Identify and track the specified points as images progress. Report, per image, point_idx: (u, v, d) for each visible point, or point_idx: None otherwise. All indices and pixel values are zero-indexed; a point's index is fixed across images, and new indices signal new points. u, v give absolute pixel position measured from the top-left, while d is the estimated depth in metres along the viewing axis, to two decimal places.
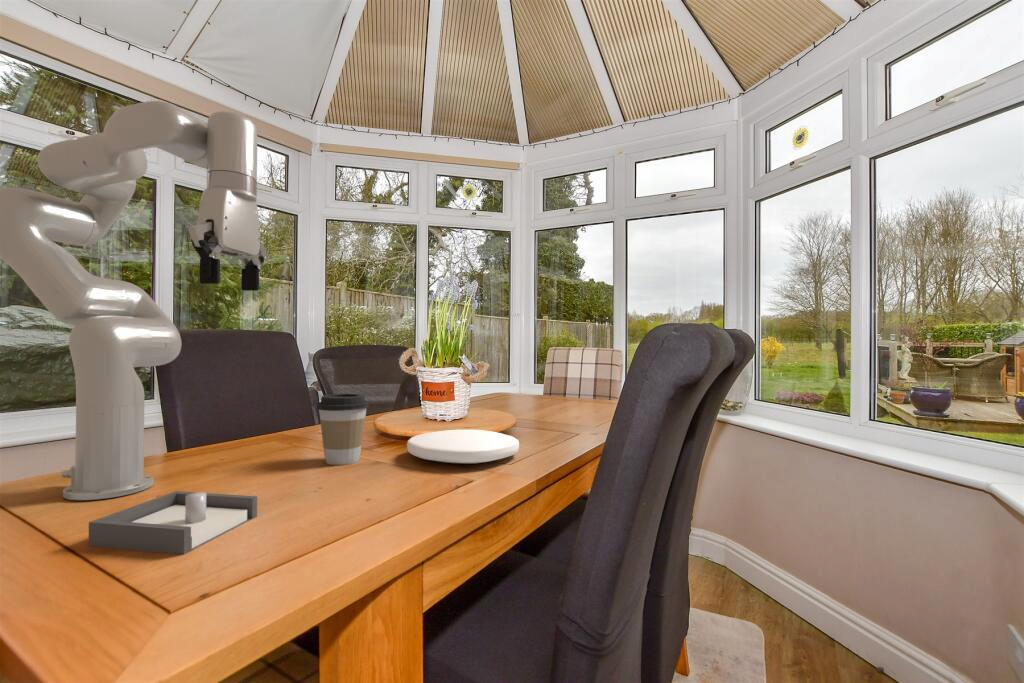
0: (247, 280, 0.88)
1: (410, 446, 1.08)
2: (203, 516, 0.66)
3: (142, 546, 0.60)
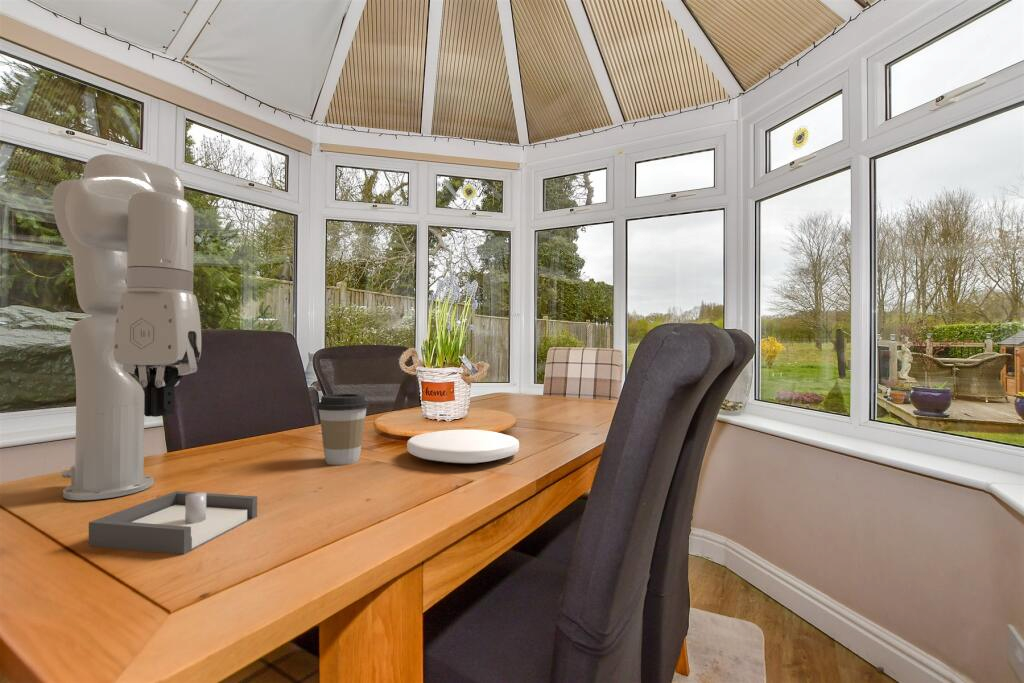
0: None
1: (410, 446, 1.08)
2: (203, 516, 0.66)
3: (142, 546, 0.60)
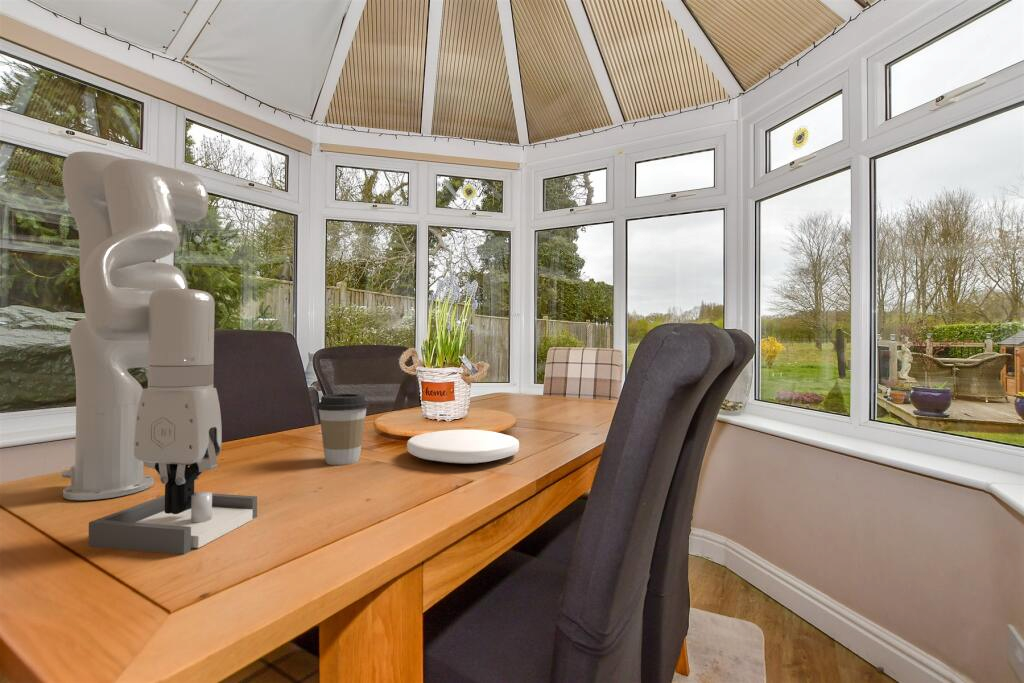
0: None
1: (410, 446, 1.08)
2: (209, 516, 0.66)
3: (142, 546, 0.60)
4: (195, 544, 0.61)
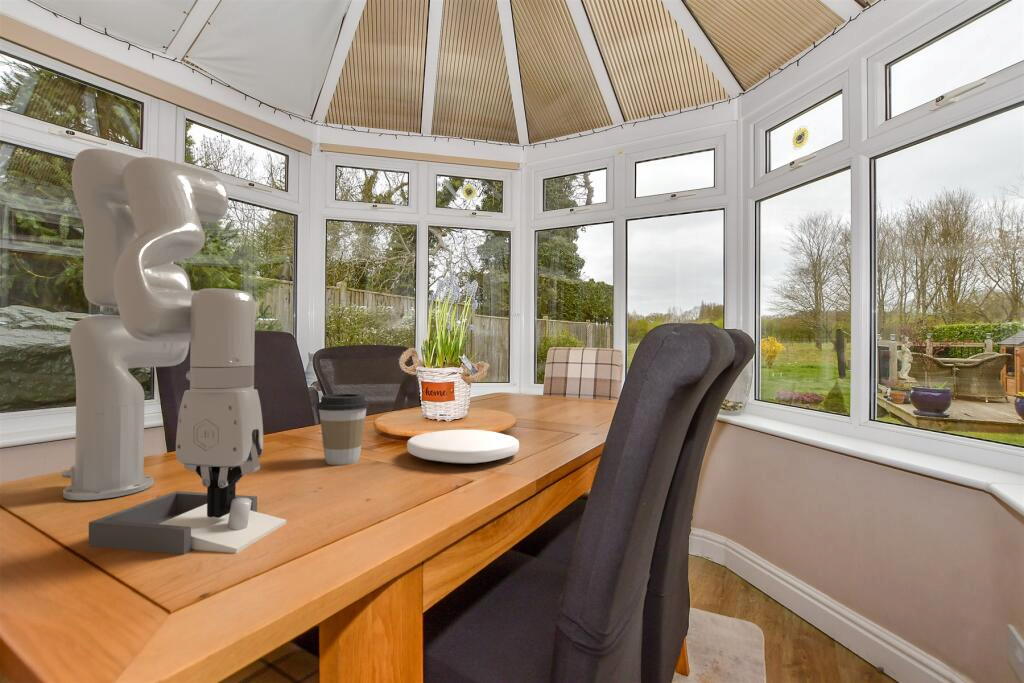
0: None
1: (410, 446, 1.08)
2: (245, 523, 0.65)
3: (142, 546, 0.60)
4: None
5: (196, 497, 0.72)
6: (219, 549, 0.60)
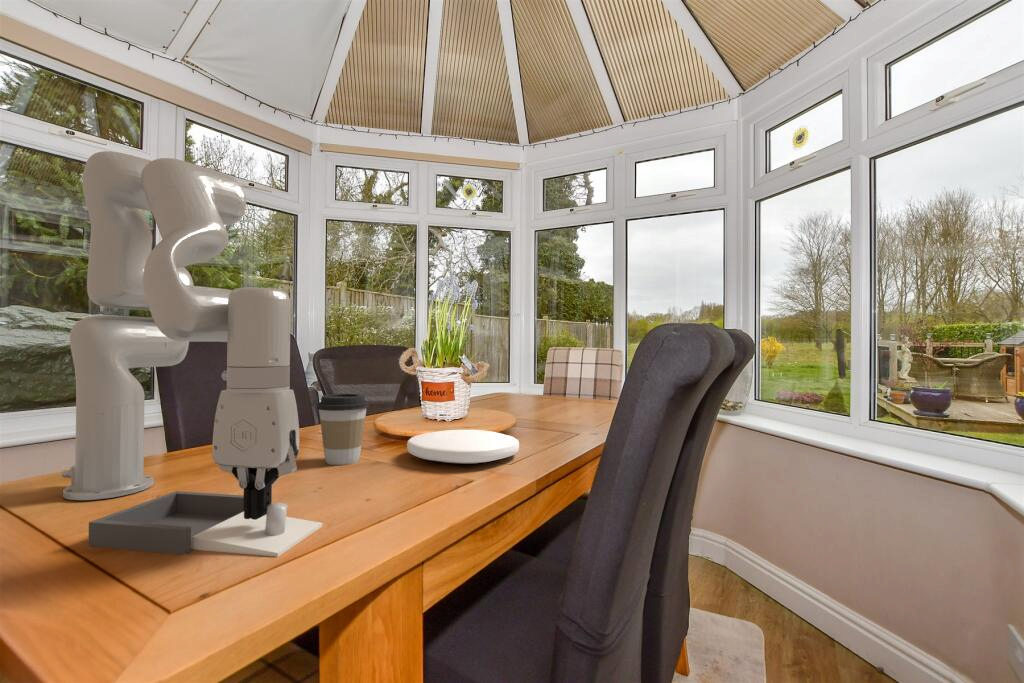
0: None
1: (410, 446, 1.08)
2: (283, 528, 0.64)
3: (142, 546, 0.60)
4: None
5: (196, 497, 0.72)
6: None
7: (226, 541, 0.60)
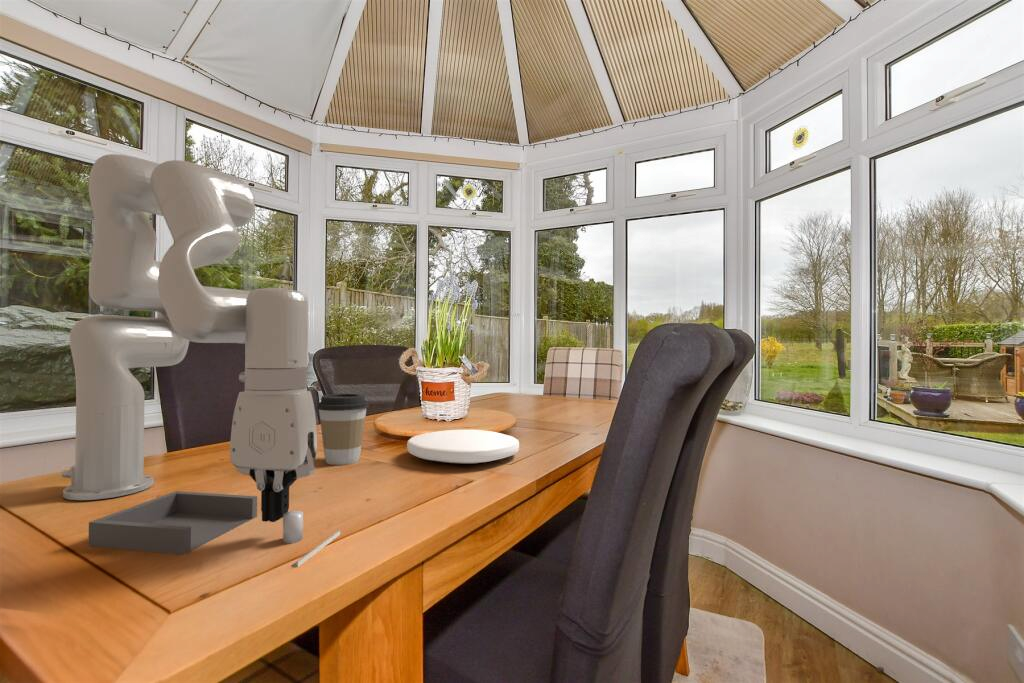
0: None
1: (410, 446, 1.08)
2: (301, 536, 0.64)
3: (142, 546, 0.60)
4: None
5: (196, 497, 0.72)
6: None
7: None
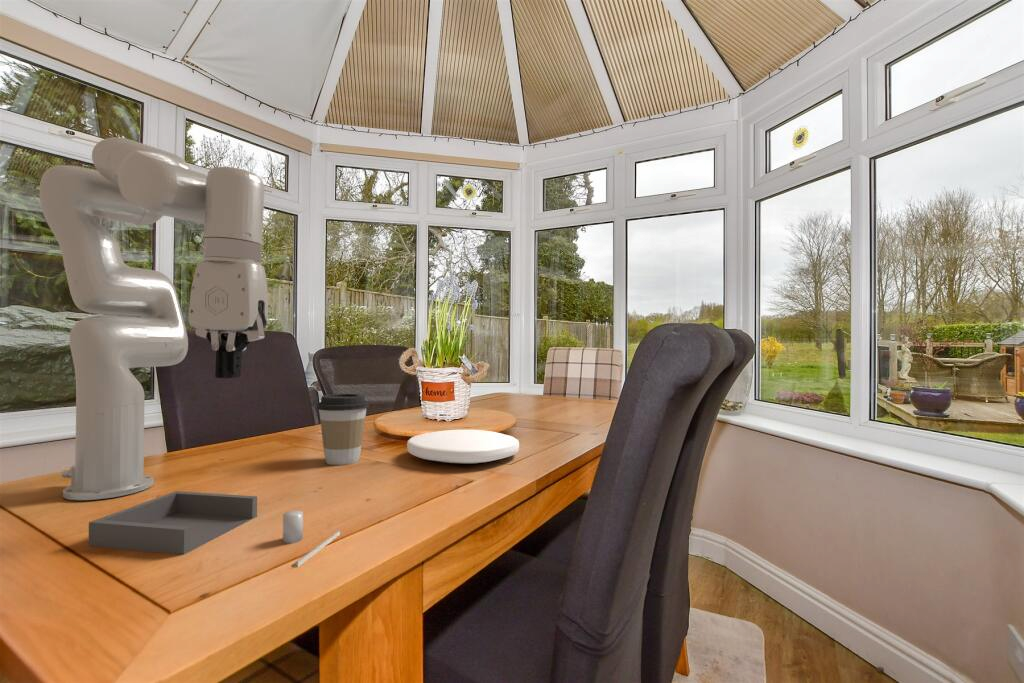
0: None
1: (410, 446, 1.08)
2: (301, 536, 0.64)
3: (142, 546, 0.60)
4: None
5: (196, 497, 0.72)
6: None
7: None
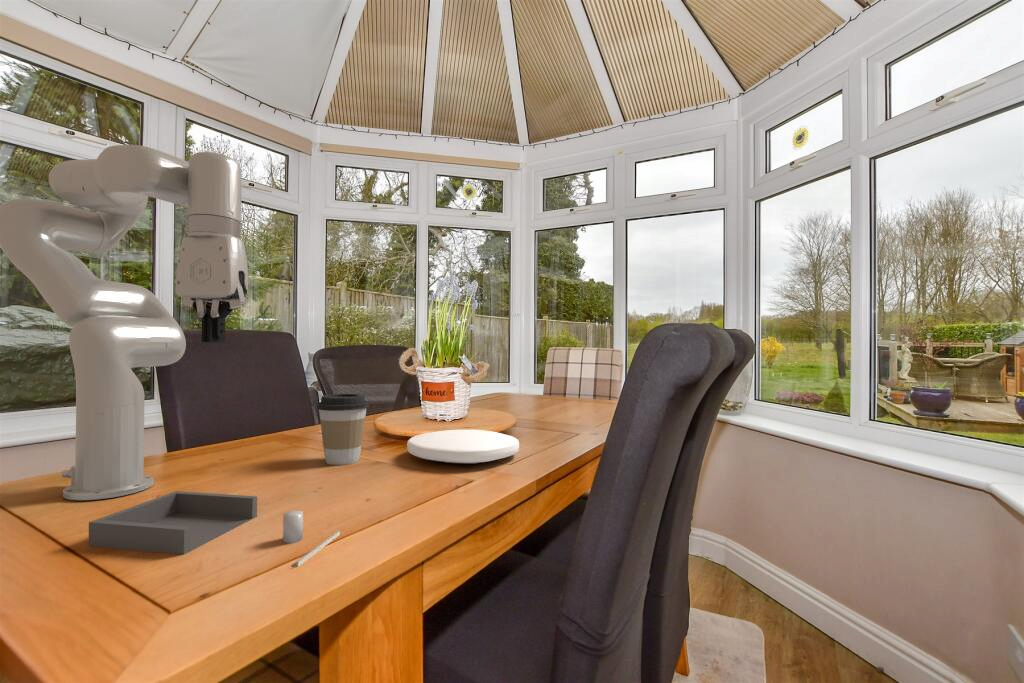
0: None
1: (410, 446, 1.08)
2: (301, 536, 0.64)
3: (142, 546, 0.60)
4: None
5: (196, 497, 0.72)
6: None
7: None
